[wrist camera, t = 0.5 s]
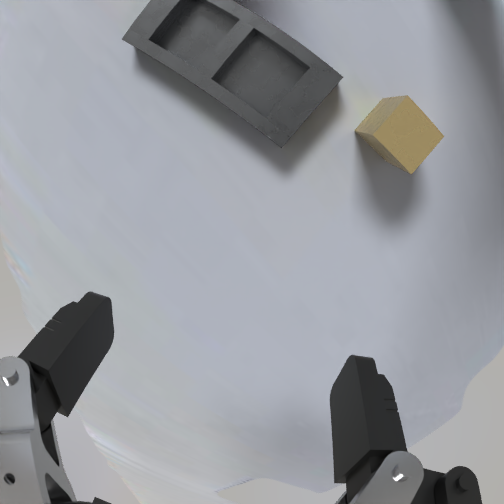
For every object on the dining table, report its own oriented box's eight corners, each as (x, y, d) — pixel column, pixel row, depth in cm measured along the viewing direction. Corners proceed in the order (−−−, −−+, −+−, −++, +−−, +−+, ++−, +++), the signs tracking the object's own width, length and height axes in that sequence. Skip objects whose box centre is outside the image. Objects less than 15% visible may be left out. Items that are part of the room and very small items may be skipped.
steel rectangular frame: (184, -19, 23) (175, -28, 21) (337, 80, 27) (343, 77, 24) (134, 43, 27) (121, 39, 24) (281, 145, 30) (281, 148, 28)
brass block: (382, 98, 27) (407, 95, 21) (414, 130, 28) (443, 136, 22) (354, 130, 29) (372, 135, 23) (386, 161, 30) (411, 174, 24)
